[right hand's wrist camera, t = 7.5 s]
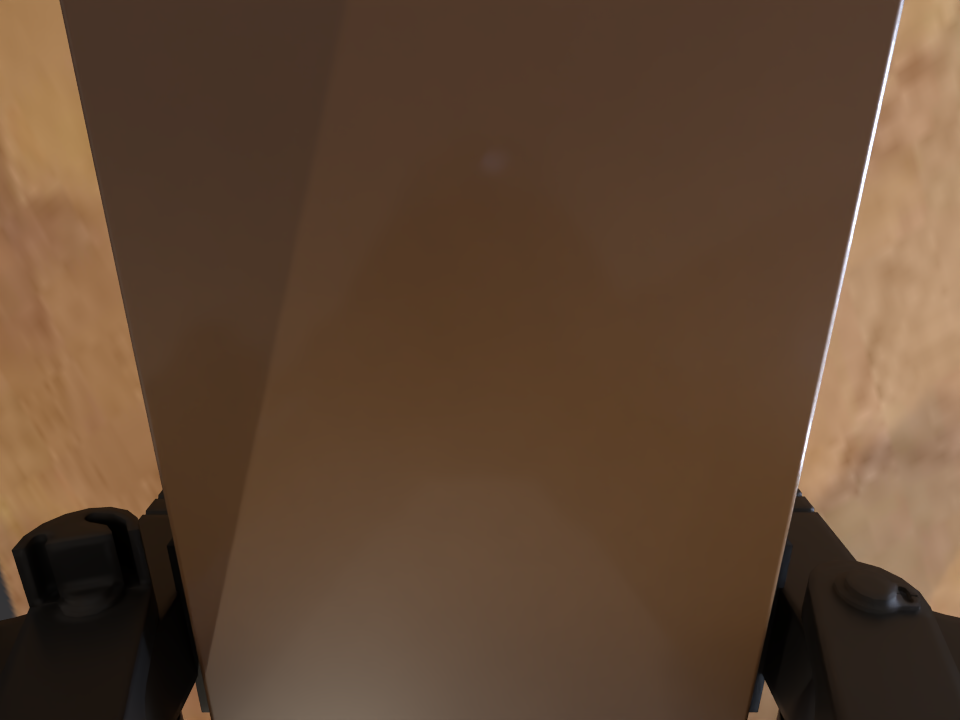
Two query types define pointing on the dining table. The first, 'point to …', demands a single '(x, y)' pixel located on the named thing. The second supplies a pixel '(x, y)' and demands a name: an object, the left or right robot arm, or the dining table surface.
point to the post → (480, 333)
